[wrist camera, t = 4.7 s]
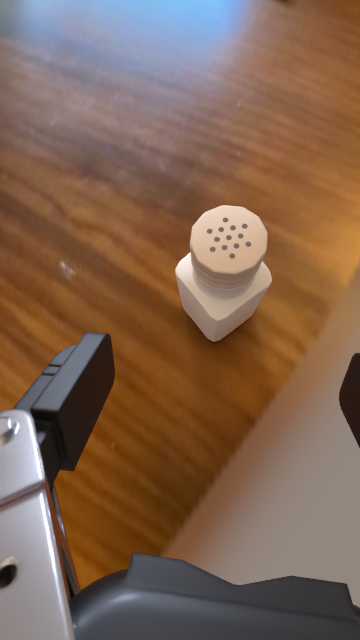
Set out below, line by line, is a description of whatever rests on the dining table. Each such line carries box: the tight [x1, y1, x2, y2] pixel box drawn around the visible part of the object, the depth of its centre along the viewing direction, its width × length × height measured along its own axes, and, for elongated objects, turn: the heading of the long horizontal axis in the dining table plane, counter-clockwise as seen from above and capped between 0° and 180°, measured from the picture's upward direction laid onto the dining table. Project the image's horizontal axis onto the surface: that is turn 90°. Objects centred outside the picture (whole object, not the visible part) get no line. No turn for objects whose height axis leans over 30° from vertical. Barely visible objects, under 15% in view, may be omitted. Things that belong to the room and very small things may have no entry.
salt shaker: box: [175, 205, 272, 342], centre depth 17 cm, size 4×4×10 cm
